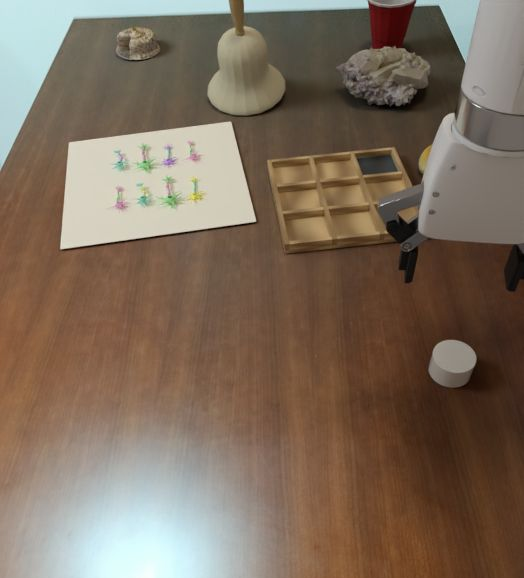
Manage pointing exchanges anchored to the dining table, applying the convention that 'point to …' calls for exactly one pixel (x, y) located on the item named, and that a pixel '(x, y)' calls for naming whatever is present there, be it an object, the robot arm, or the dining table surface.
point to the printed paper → (153, 185)
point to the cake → (137, 44)
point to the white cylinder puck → (452, 363)
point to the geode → (385, 75)
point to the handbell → (244, 70)
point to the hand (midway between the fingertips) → (457, 277)
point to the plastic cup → (389, 21)
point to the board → (335, 198)
